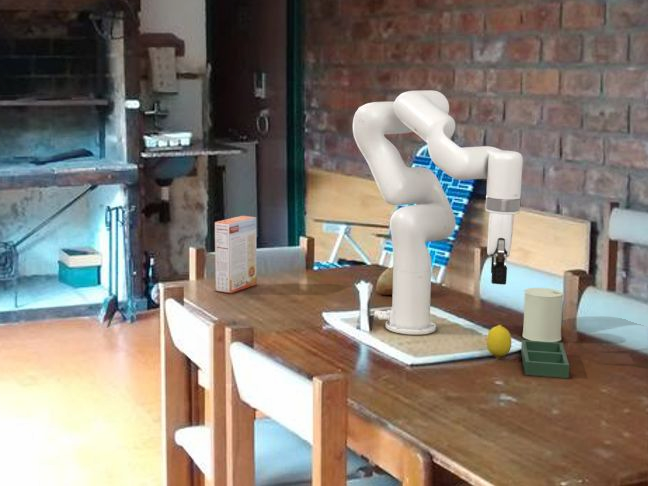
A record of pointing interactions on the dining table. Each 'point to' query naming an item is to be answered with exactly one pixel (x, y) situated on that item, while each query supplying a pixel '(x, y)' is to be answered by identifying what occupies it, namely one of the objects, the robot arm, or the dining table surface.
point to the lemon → (498, 341)
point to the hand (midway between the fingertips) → (498, 278)
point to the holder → (544, 359)
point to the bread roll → (385, 282)
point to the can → (542, 314)
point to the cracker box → (235, 254)
